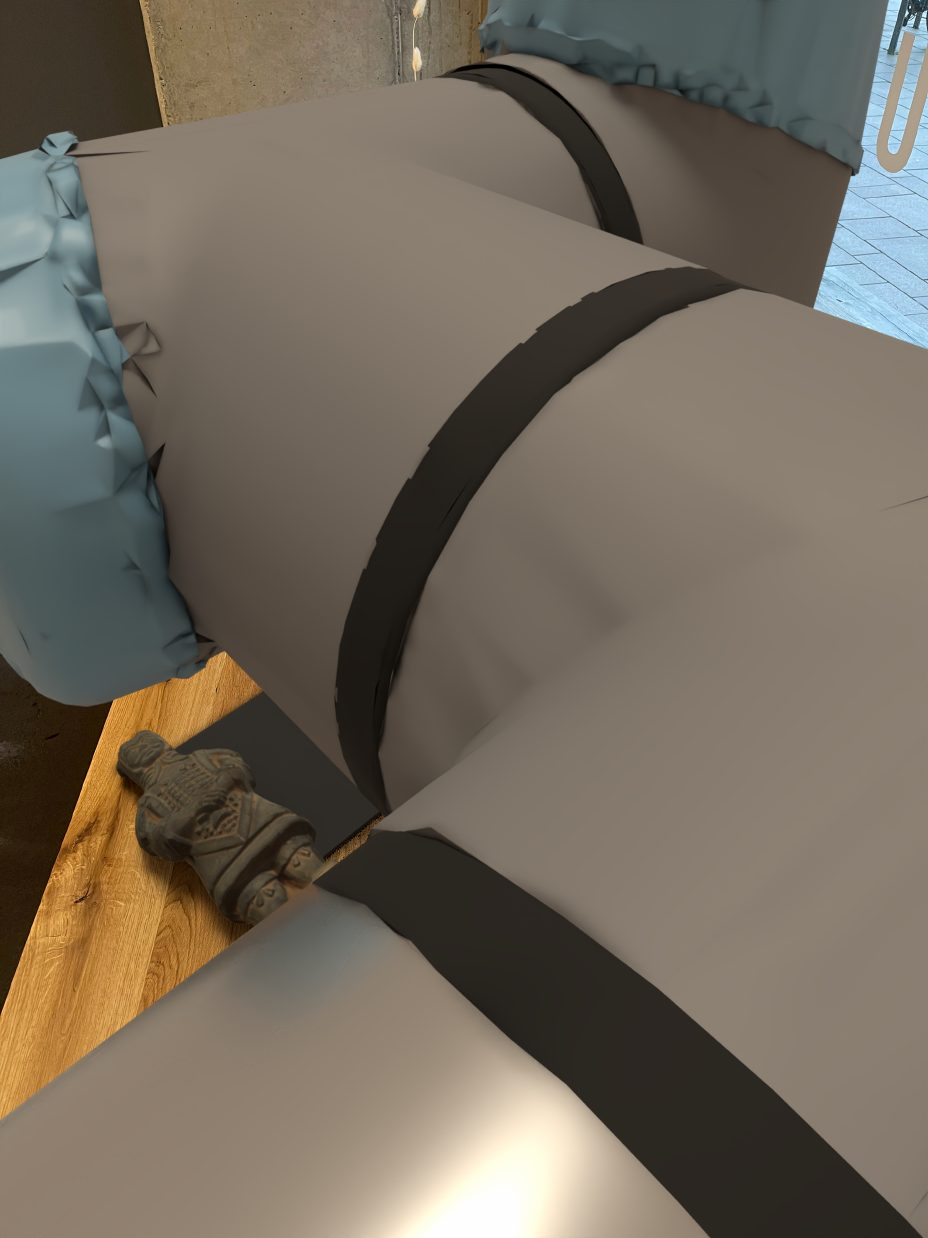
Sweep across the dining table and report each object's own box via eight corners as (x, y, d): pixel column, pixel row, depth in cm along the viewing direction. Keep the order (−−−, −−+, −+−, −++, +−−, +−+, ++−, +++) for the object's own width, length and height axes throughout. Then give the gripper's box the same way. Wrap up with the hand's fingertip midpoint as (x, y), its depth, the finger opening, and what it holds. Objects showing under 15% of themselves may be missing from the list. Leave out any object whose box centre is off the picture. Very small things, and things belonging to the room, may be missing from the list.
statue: (252, 965, 65) (39, 748, 80) (295, 1002, 72) (92, 796, 87) (362, 845, 69) (139, 660, 84) (391, 891, 76) (181, 714, 91)
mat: (395, 802, 85) (395, 798, 85) (275, 899, 78) (274, 896, 77) (264, 694, 96) (264, 690, 95) (147, 771, 88) (145, 767, 88)
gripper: (877, 611, 25) (718, 1002, 41) (523, 441, 32) (503, 834, 48) (733, 764, 21) (619, 1133, 37) (363, 533, 28) (399, 929, 44)
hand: (554, 964), depth 43 cm, fingers closed
